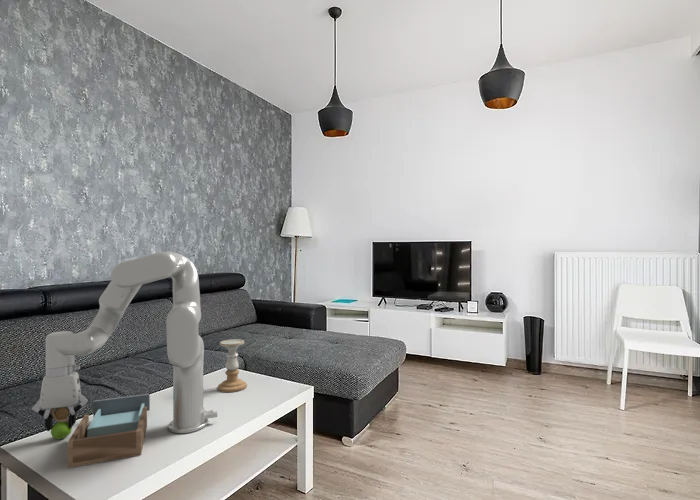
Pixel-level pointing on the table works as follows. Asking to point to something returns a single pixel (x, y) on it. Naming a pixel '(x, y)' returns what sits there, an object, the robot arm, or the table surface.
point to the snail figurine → (60, 423)
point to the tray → (117, 414)
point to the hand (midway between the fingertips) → (60, 427)
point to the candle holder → (232, 368)
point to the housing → (105, 443)
